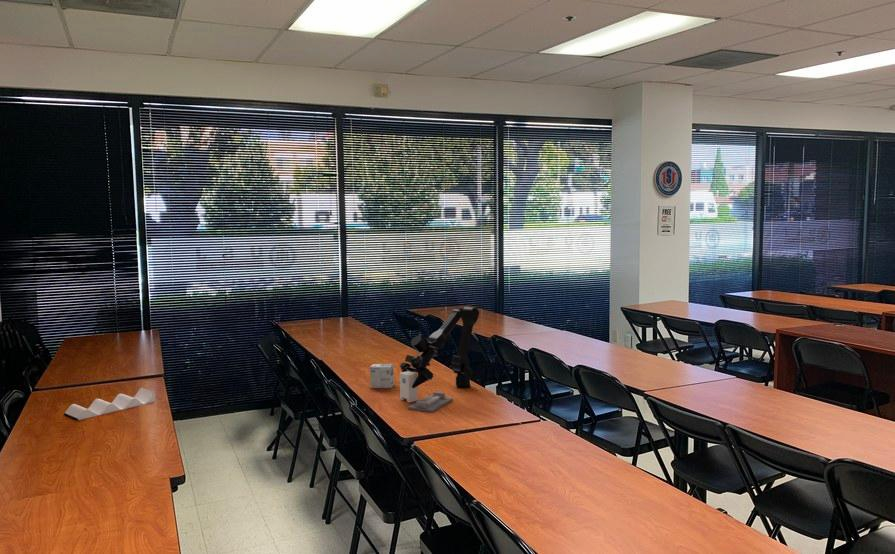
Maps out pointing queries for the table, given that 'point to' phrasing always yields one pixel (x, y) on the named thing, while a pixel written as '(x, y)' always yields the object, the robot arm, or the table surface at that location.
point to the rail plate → (431, 402)
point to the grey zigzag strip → (110, 405)
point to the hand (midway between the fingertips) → (406, 385)
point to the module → (408, 386)
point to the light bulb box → (381, 376)
